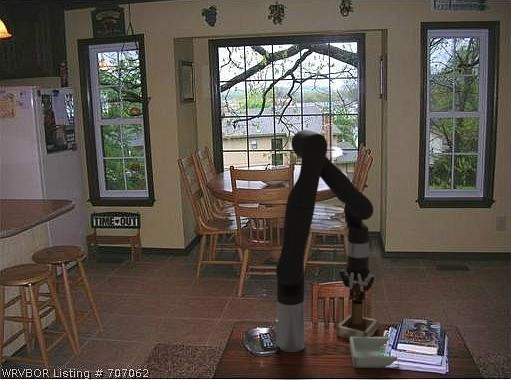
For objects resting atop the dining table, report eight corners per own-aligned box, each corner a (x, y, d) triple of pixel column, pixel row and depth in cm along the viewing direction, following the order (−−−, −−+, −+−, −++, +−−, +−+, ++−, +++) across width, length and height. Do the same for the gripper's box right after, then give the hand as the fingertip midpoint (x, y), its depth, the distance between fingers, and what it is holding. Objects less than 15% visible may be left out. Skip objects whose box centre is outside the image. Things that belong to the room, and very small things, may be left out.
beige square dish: (337, 335, 190) (337, 326, 189) (350, 322, 200) (350, 314, 199) (366, 342, 184) (366, 333, 183) (377, 329, 194) (378, 320, 193)
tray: (353, 367, 168) (353, 357, 167) (349, 346, 182) (349, 336, 181) (398, 368, 167) (398, 357, 166) (390, 346, 181) (391, 337, 180)
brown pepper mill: (367, 334, 188) (368, 287, 185) (349, 334, 189) (350, 287, 185) (364, 326, 195) (364, 280, 191) (346, 326, 195) (347, 280, 192)
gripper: (335, 253, 187) (335, 299, 190) (373, 259, 179) (372, 307, 183) (343, 247, 193) (343, 292, 196) (380, 253, 185) (379, 299, 189)
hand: (357, 299), depth 189 cm, fingers closed on brown pepper mill, 2 cm apart
